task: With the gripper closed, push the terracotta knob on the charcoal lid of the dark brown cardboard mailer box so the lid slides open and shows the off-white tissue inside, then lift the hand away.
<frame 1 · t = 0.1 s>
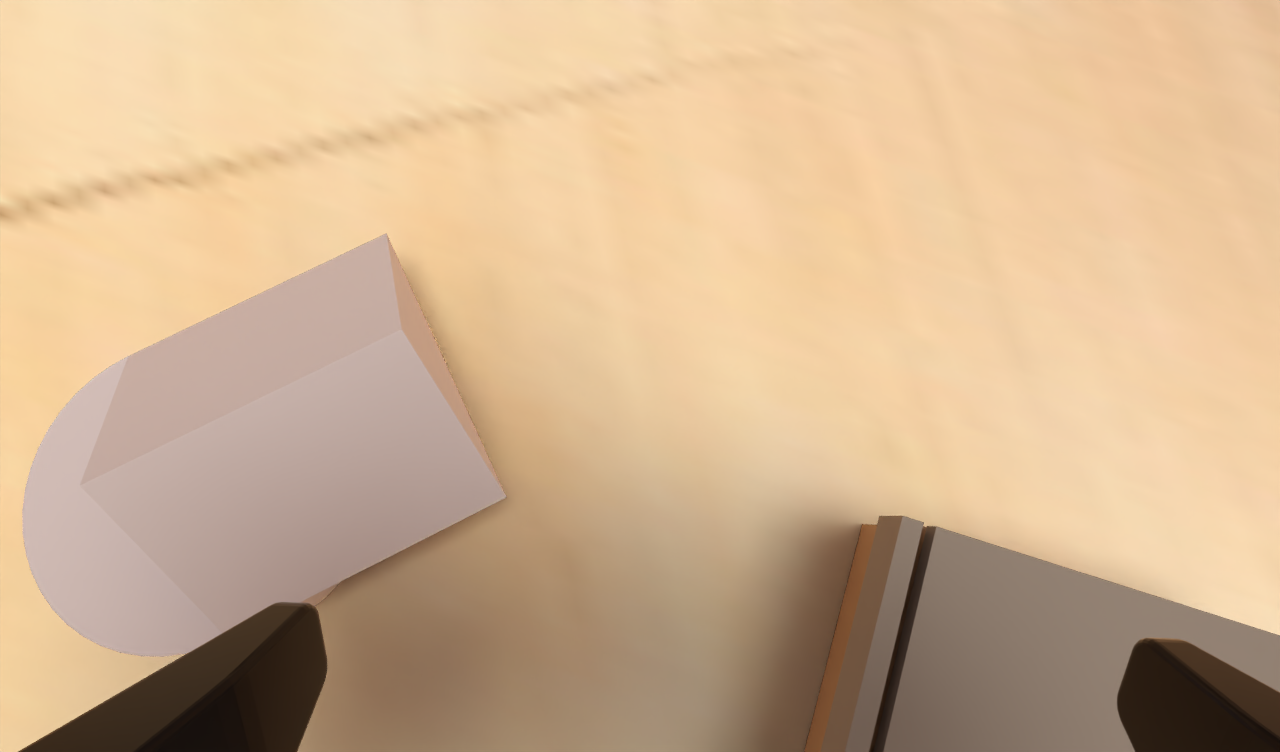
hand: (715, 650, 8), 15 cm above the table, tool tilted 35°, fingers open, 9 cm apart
wedge on round base: (303, 468, 24), on the table
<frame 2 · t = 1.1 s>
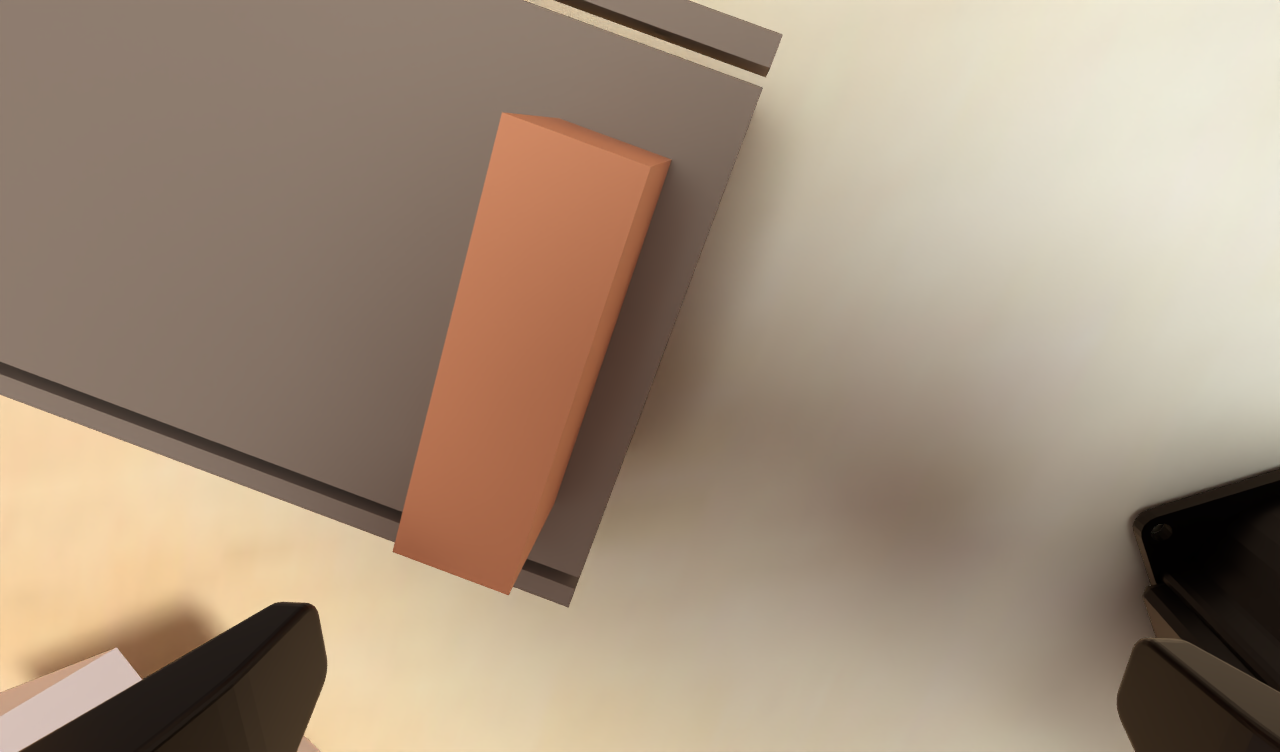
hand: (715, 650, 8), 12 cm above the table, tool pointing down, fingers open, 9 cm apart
lid: (257, 230, 12), point 7 cm above the table, slide at 0.0 cm
wedge on round base: (214, 744, 27), on the table
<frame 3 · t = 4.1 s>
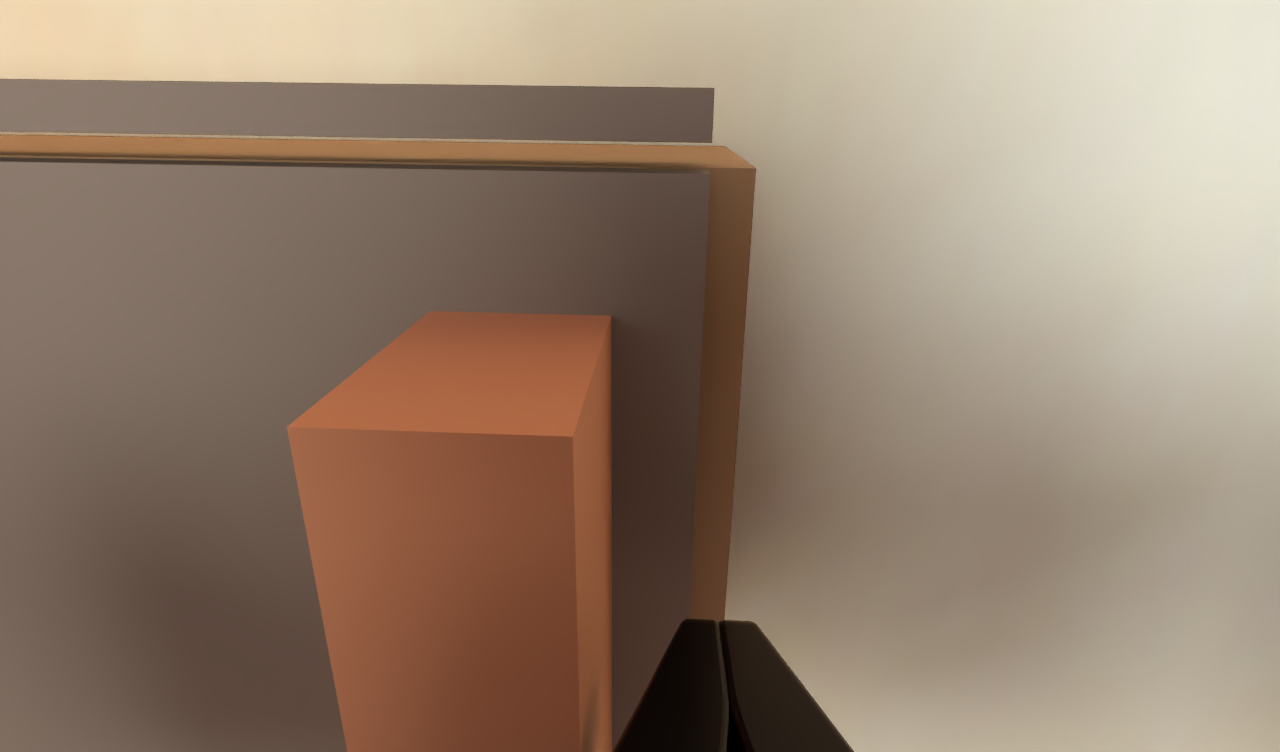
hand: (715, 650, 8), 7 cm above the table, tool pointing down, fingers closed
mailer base: (359, 386, 15), on the table
lid: (79, 590, 8), point 7 cm above the table, slide at 0.6 cm, touching gripper
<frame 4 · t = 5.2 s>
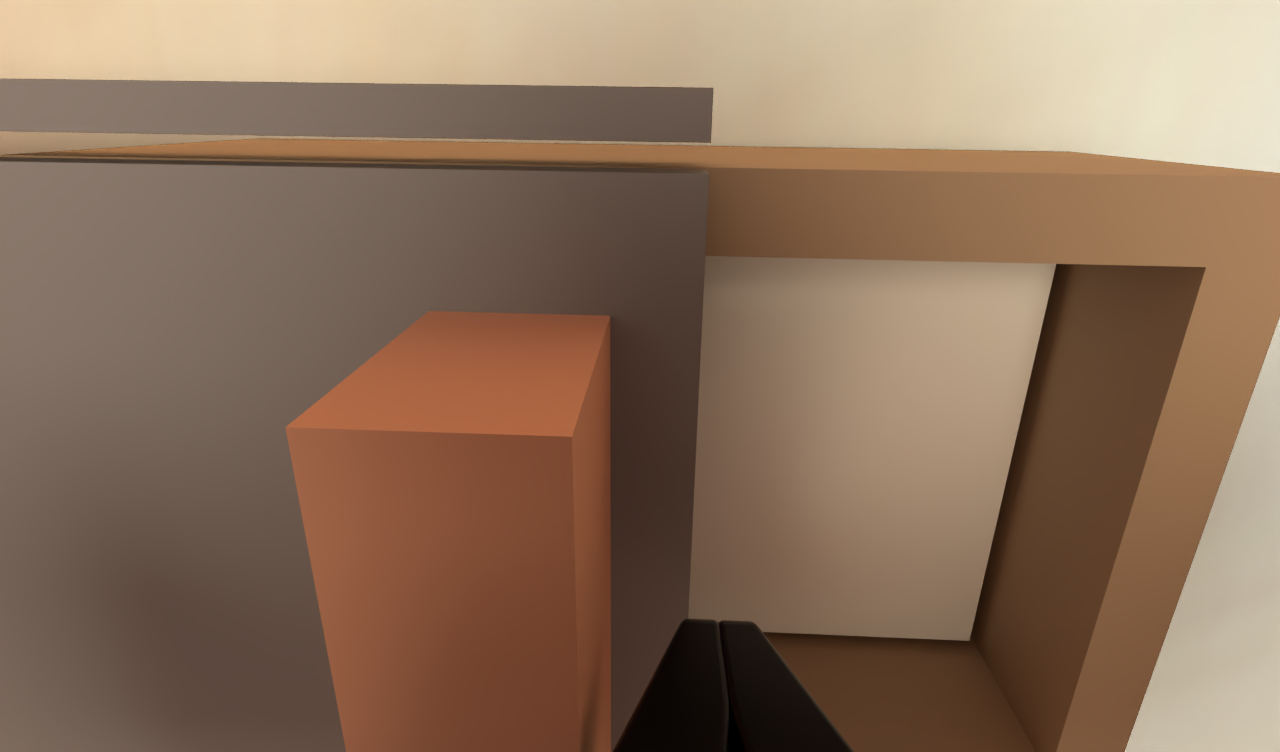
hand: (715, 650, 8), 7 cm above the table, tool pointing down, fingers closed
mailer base: (648, 395, 15), on the table
lid: (77, 591, 8), point 7 cm above the table, slide at 6.8 cm, touching gripper
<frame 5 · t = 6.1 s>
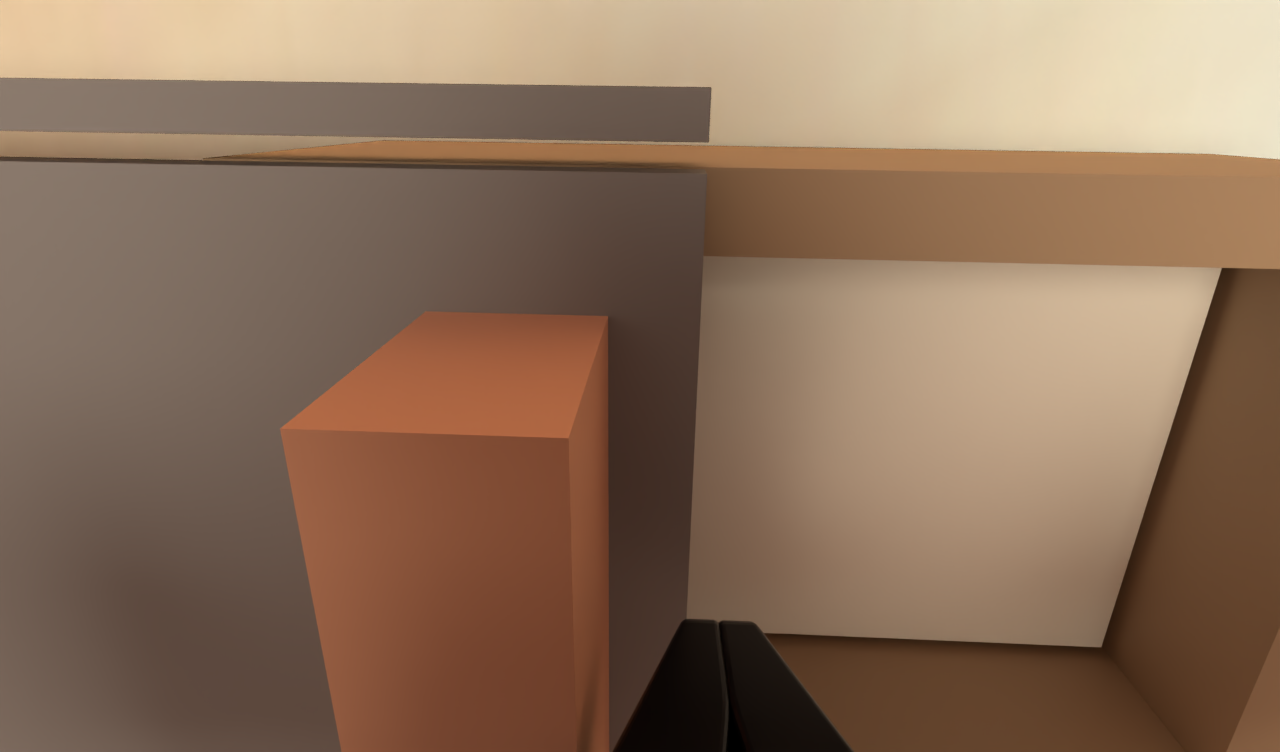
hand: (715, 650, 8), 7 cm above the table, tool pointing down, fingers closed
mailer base: (766, 399, 14), on the table
lid: (72, 592, 8), point 7 cm above the table, slide at 9.2 cm, touching gripper
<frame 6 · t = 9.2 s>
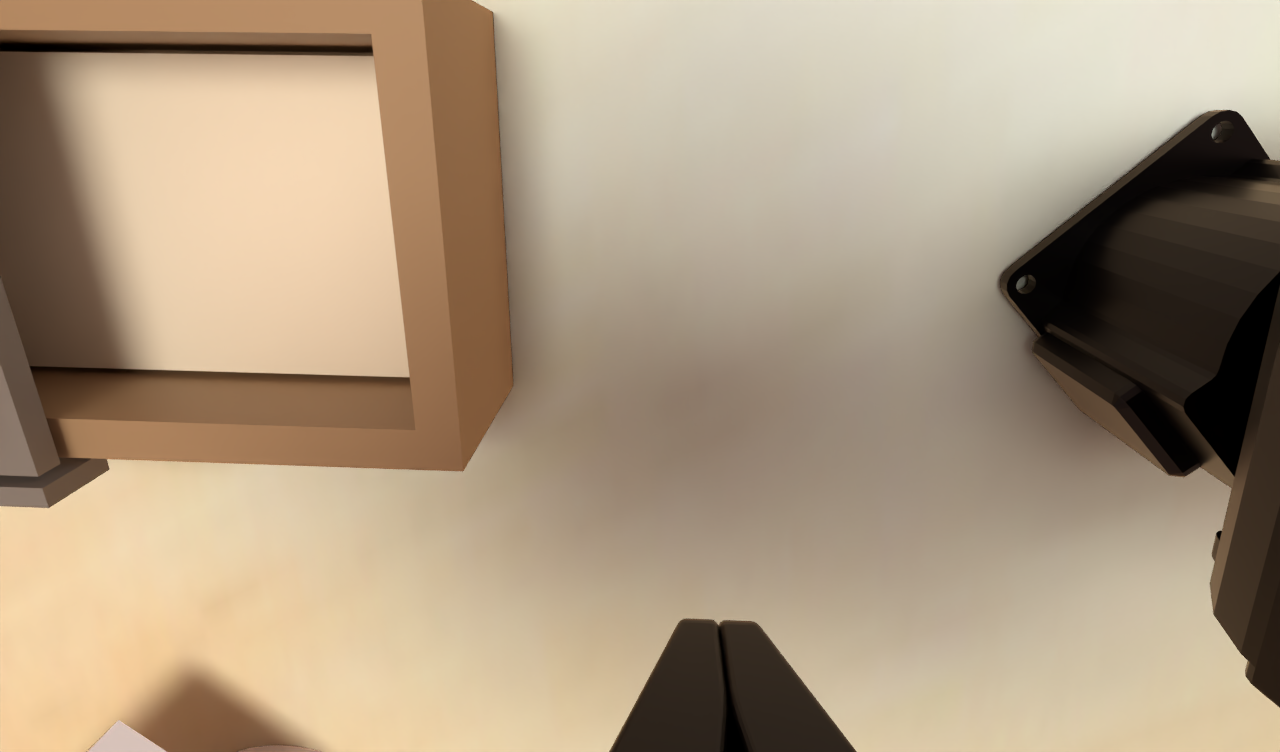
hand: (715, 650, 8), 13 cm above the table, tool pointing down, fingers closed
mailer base: (236, 210, 19), on the table
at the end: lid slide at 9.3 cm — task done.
